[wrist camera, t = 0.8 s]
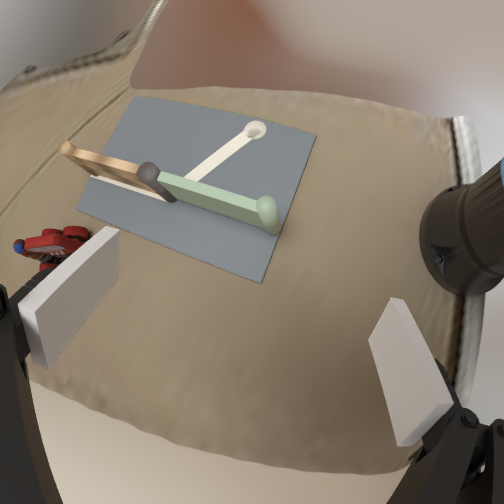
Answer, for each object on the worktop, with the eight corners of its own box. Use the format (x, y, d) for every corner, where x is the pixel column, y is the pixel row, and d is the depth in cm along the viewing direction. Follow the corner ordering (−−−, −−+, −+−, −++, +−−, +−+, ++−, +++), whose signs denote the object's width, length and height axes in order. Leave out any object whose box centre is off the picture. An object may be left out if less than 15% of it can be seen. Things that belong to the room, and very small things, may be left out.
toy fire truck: (46, 235, 47) (4, 220, 37) (100, 229, 45) (58, 210, 35) (43, 275, 45) (-1, 267, 35) (98, 275, 44) (53, 265, 34)
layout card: (316, 136, 43) (316, 134, 42) (260, 283, 40) (260, 283, 40) (135, 97, 49) (134, 95, 48) (77, 209, 46) (75, 208, 46)
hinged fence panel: (177, 203, 43) (150, 178, 34) (183, 190, 43) (157, 162, 34) (277, 237, 40) (271, 217, 31) (282, 223, 40) (278, 199, 31)
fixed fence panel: (183, 190, 44) (155, 160, 34) (176, 205, 44) (146, 179, 34) (98, 164, 47) (63, 137, 38) (91, 177, 47) (55, 152, 37)
